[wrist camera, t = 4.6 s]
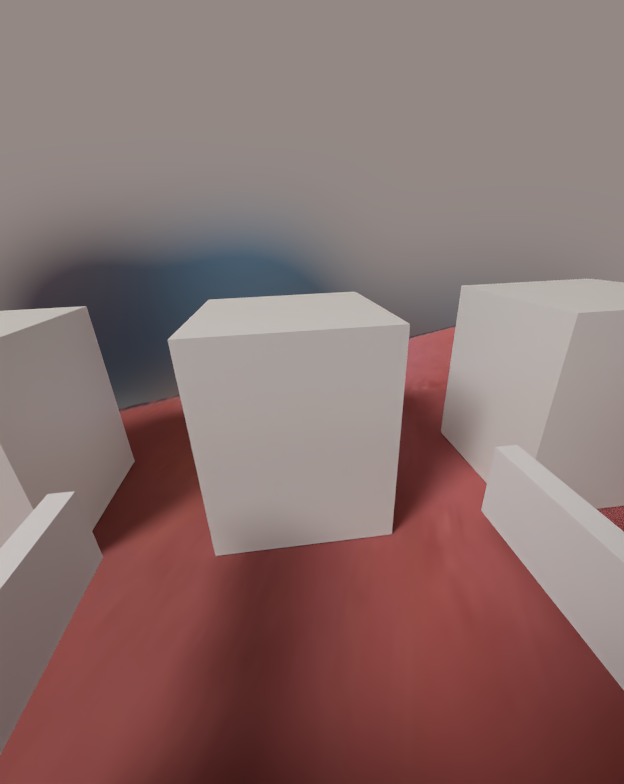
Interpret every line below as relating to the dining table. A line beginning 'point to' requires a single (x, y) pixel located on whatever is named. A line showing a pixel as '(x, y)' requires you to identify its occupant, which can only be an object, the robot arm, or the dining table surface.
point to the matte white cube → (542, 380)
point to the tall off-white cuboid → (293, 416)
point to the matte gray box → (56, 416)
